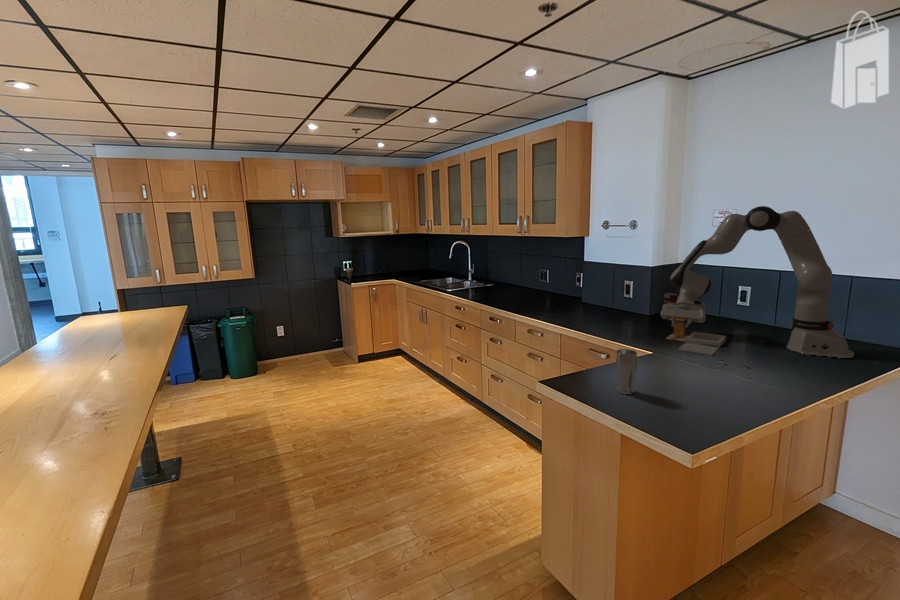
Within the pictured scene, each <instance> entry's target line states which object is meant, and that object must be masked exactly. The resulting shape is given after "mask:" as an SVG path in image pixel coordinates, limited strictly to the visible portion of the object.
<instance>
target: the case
mask: <svg viewBox="0 0 900 600" xmlns="http://www.w3.org/2000/svg"><path fill="white" fill-rule="evenodd" d="M726 341H727V335H722V334H714V333H713V334H712V333H706V332H697V331H693V332H692V333H690V334H689V336H688V337H687V338H686V342H685V343H683V344H682V345H681V346H680V347H678V348H677V352H683V353H684V352H685V353H690V354H697V355H700V356H701V355H702V356H709V357H713V356H714V355H715V354H714V353H716V351H717V350H719V348H720V347H721V346H722V345H723V344H725V342H726Z"/></svg>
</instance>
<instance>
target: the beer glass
mask: <svg viewBox="0 0 900 600" xmlns="http://www.w3.org/2000/svg"><path fill="white" fill-rule="evenodd" d="M637 356H638V354H637V351H635V350H633V349H629V348H627V349H626V348H623V349H622V348H621V349H618V350H616V356H615V370H616V374H617V375H616V376H617V385H616V389H617V390H618V391H619V392H622V393H633V392H634V393H635V386H634V383H635V376H636V373H637V369H638V368H637V367H638V357H637ZM617 390H616V391H617ZM634 393H633V394H634Z"/></svg>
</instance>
